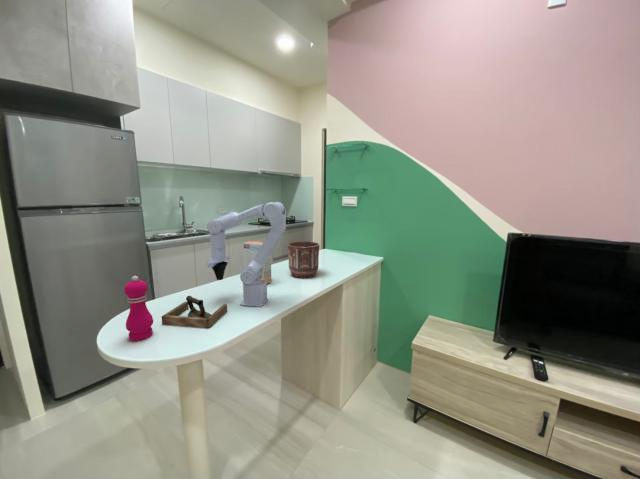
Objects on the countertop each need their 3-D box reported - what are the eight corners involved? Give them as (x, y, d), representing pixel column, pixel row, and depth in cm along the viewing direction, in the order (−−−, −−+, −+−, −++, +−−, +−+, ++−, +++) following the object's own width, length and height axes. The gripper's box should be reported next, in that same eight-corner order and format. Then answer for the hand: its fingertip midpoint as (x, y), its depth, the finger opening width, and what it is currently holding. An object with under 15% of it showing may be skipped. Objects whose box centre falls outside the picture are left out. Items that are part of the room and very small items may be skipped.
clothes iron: (196, 327, 92) (188, 300, 91) (182, 324, 99) (174, 299, 98) (215, 318, 97) (207, 292, 96) (200, 316, 104) (193, 292, 103)
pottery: (305, 268, 164) (305, 240, 161) (325, 275, 151) (325, 244, 148) (282, 274, 152) (281, 243, 149) (301, 282, 139) (300, 248, 136)
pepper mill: (136, 330, 88) (129, 272, 85) (158, 330, 89) (153, 272, 85) (121, 342, 81) (114, 279, 78) (146, 341, 81) (140, 279, 78)
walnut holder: (227, 311, 103) (226, 304, 103) (209, 328, 90) (208, 320, 90) (185, 308, 105) (185, 301, 105) (162, 324, 92) (161, 316, 92)
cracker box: (272, 282, 137) (271, 243, 134) (263, 286, 132) (262, 244, 129) (252, 278, 145) (251, 240, 141) (244, 280, 140) (243, 241, 136)
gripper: (217, 244, 117) (219, 273, 120) (199, 251, 103) (201, 284, 105) (232, 244, 117) (234, 274, 119) (216, 251, 102) (218, 285, 105)
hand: (219, 279), depth 112 cm, fingers closed
